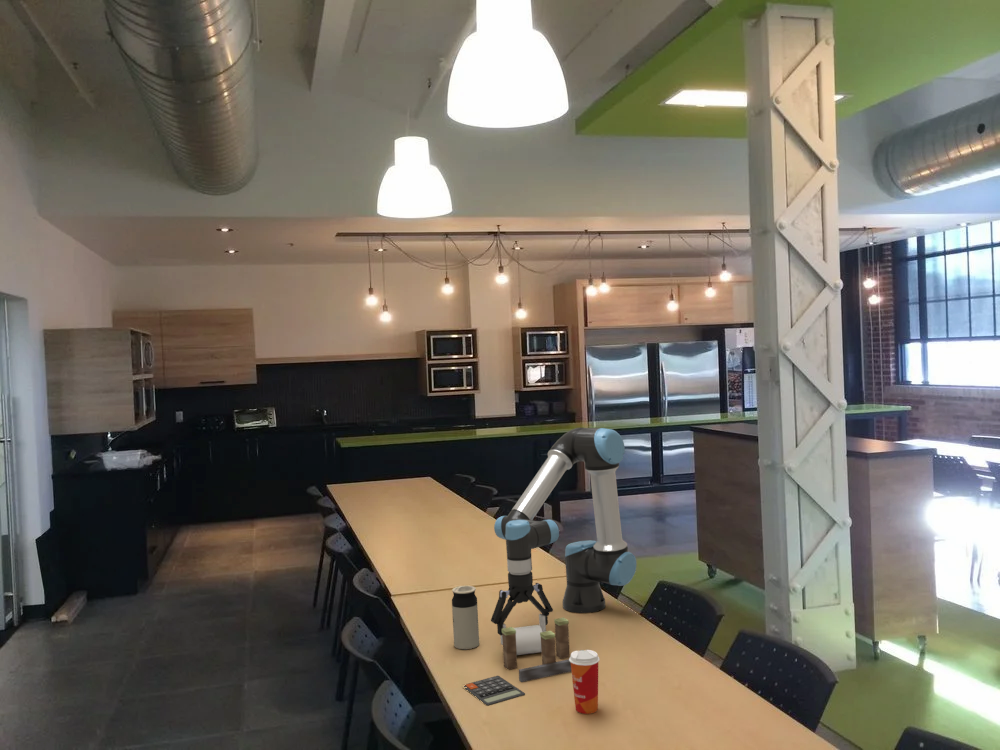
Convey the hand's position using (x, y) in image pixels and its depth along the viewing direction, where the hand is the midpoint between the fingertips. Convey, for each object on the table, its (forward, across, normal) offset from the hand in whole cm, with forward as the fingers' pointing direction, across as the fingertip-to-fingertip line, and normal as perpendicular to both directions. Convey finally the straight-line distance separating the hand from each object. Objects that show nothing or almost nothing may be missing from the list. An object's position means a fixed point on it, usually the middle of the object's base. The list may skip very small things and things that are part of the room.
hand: (523, 640), depth 244 cm
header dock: (+3, +1, +15) cm, 15 cm away
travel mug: (+3, +13, -14) cm, 19 cm away
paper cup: (+3, +6, +45) cm, 45 cm away
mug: (+3, 0, 0) cm, 3 cm away
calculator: (+3, +21, +22) cm, 30 cm away
